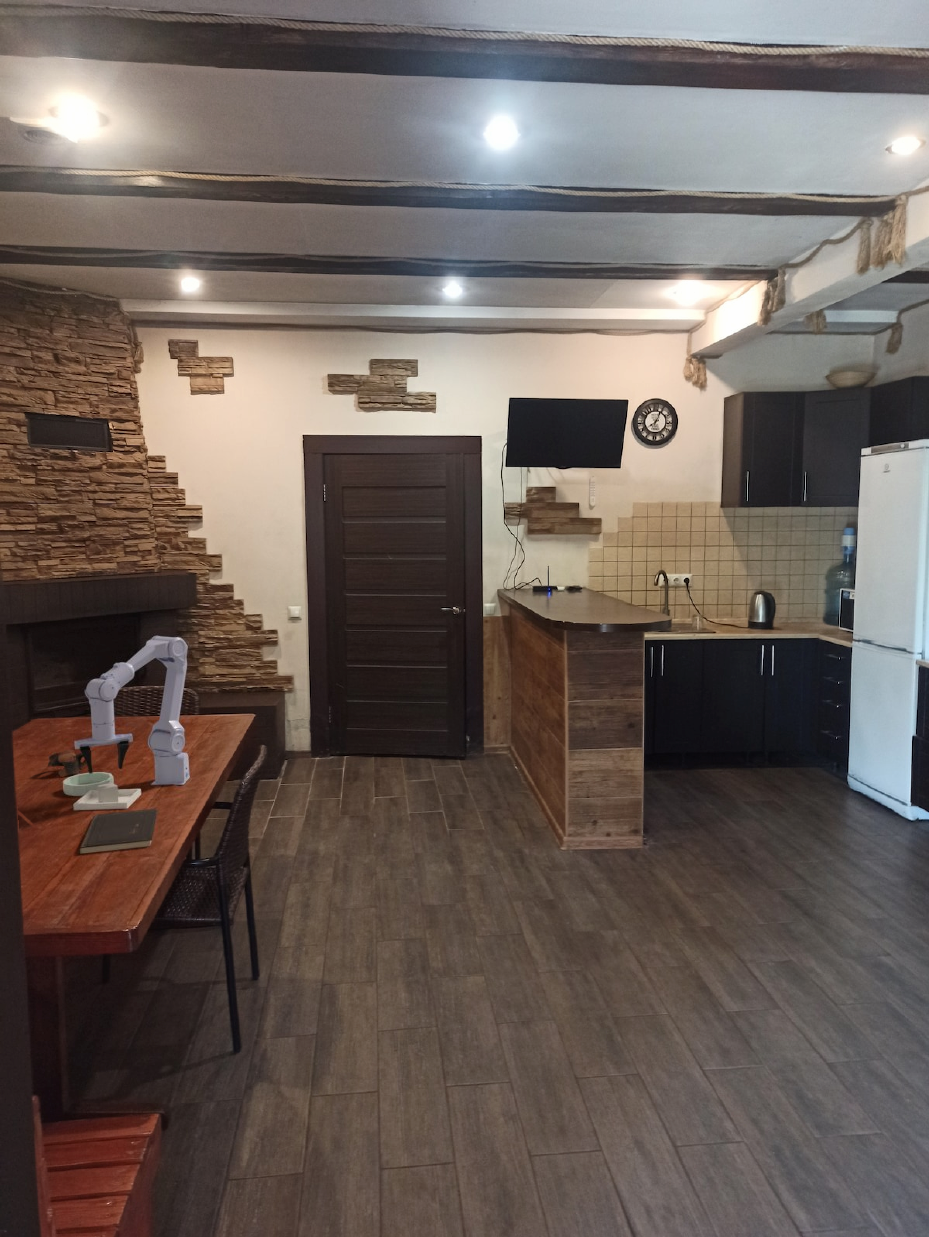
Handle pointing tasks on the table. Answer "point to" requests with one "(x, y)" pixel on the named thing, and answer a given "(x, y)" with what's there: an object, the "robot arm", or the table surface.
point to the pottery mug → (67, 762)
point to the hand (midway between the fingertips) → (105, 770)
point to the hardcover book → (119, 831)
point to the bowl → (85, 783)
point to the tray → (124, 802)
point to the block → (107, 793)
